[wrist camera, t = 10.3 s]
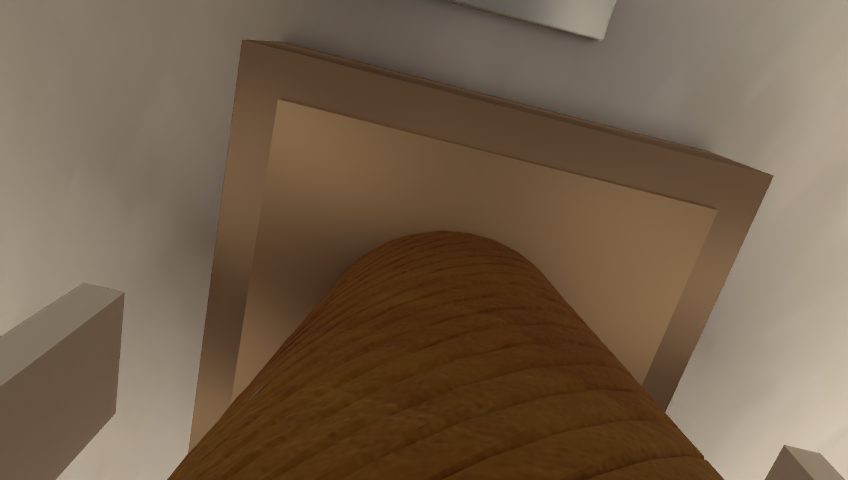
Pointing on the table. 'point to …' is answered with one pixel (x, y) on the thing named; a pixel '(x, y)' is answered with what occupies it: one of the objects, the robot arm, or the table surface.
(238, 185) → the walnut base
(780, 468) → the robot arm
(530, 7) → the slate coaster
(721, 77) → the table surface
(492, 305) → the disposable coffee cup
